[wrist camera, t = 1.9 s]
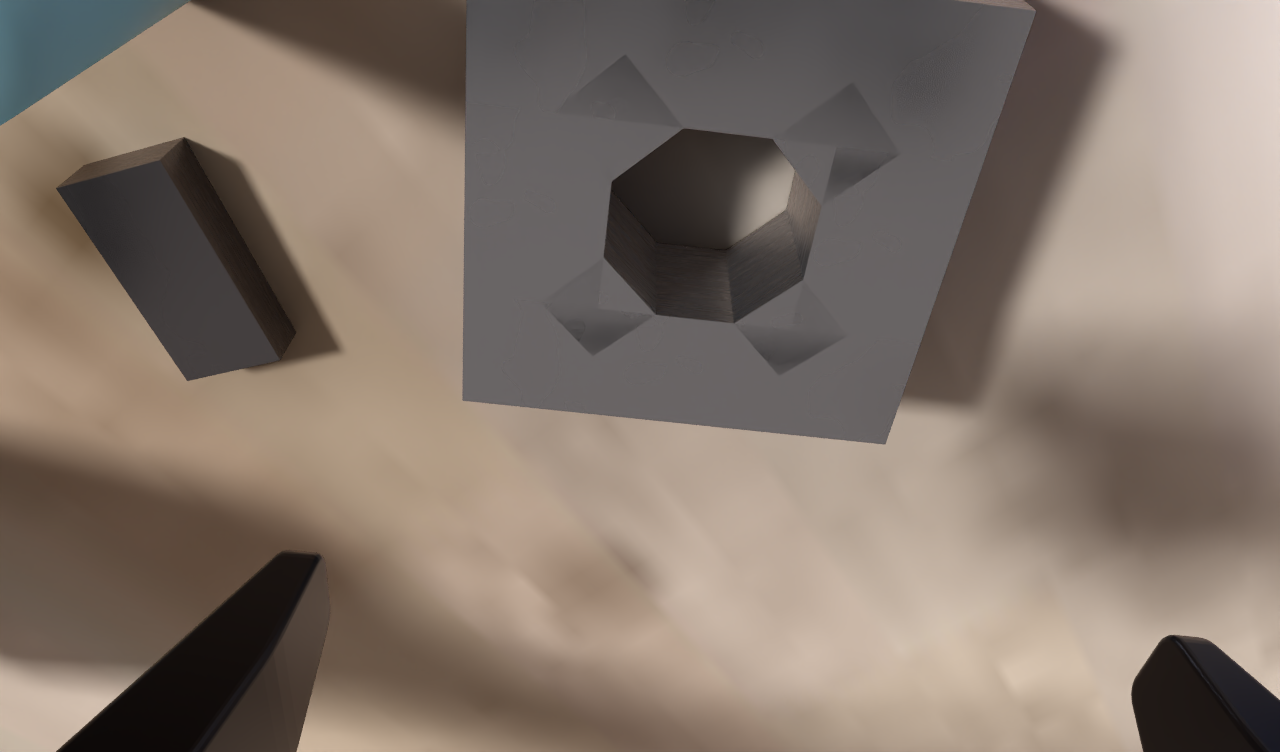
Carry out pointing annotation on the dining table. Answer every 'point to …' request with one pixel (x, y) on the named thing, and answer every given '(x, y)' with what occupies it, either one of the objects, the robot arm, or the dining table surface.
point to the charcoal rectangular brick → (180, 258)
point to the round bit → (63, 42)
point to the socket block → (759, 263)
